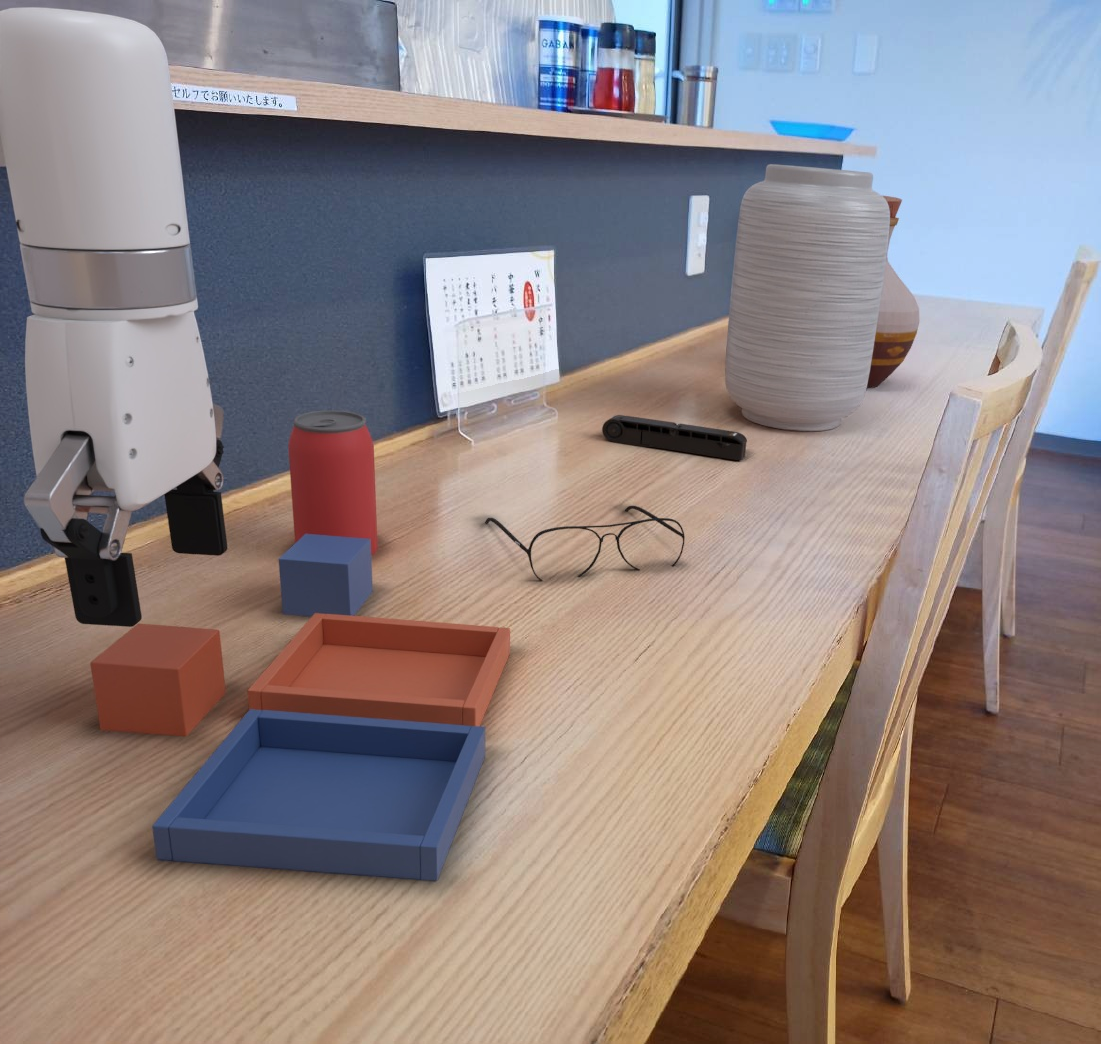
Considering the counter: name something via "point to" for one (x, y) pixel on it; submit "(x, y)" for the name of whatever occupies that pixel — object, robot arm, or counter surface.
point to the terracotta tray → (386, 670)
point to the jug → (893, 317)
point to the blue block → (326, 575)
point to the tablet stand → (675, 437)
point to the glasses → (654, 518)
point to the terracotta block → (158, 679)
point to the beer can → (333, 476)
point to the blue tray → (326, 796)
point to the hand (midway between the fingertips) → (158, 585)
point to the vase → (805, 296)
